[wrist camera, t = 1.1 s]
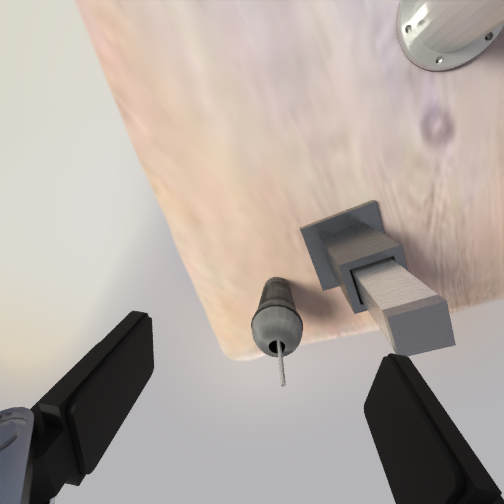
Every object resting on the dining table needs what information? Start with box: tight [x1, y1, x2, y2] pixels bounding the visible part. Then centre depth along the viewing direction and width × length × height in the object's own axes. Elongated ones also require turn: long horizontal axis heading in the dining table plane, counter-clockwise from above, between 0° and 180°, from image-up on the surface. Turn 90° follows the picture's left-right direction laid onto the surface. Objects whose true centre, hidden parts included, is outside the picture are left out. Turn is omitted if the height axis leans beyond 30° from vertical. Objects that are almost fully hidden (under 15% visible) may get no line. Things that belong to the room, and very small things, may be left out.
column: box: [349, 257, 456, 356], centre depth 29 cm, size 4×4×20 cm
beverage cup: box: [251, 277, 303, 387], centre depth 34 cm, size 7×7×20 cm
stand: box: [300, 200, 408, 314], centre depth 33 cm, size 12×12×13 cm
